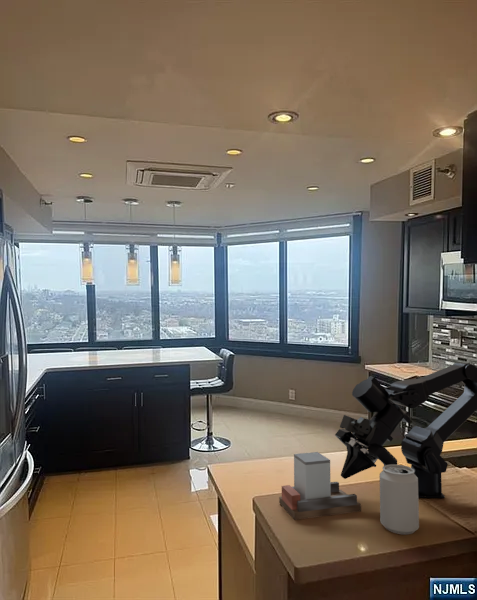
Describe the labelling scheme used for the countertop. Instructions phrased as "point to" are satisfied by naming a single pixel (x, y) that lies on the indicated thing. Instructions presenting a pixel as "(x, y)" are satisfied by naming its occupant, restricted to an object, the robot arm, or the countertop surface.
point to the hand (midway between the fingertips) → (342, 477)
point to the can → (399, 499)
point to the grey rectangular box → (312, 475)
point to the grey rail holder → (318, 503)
